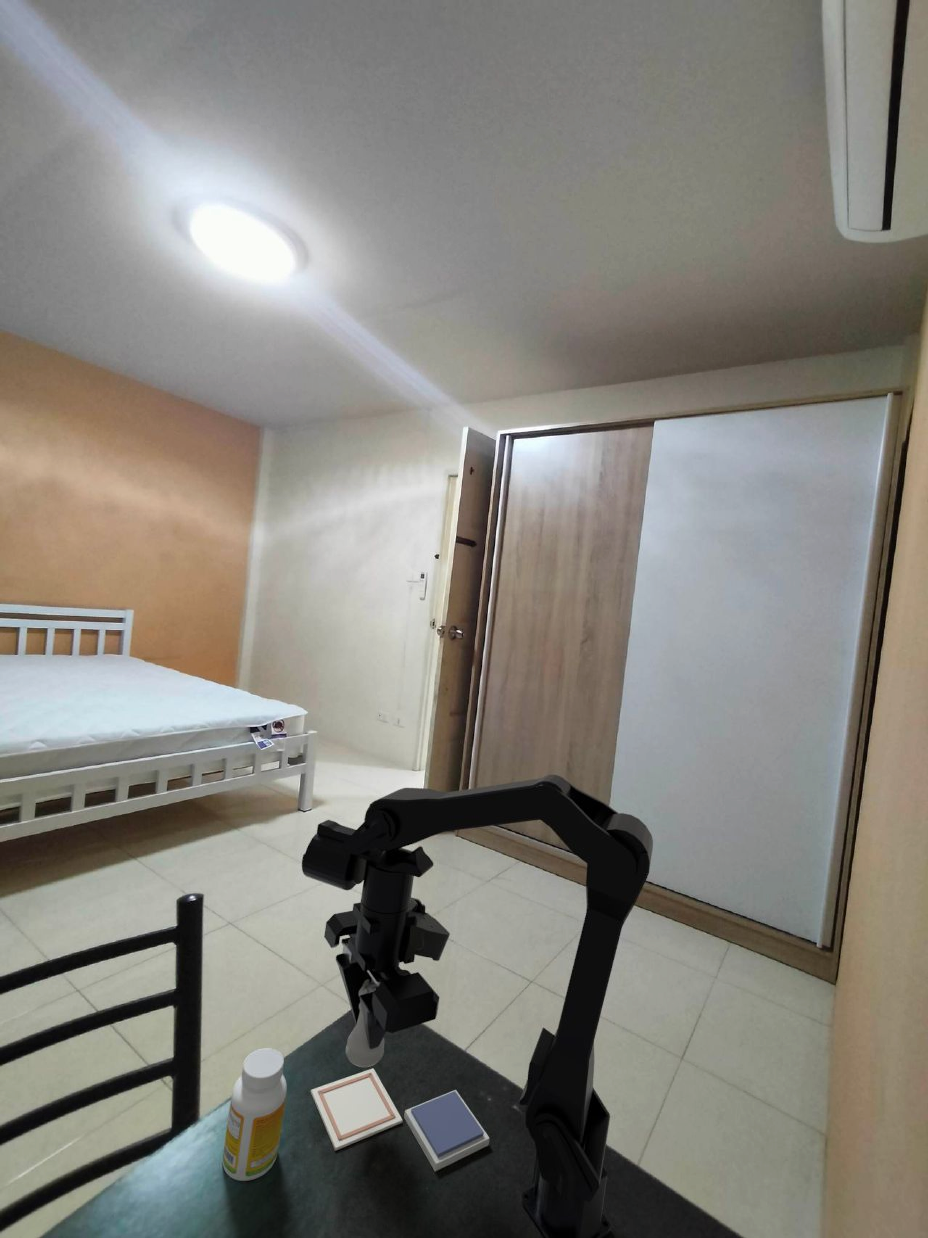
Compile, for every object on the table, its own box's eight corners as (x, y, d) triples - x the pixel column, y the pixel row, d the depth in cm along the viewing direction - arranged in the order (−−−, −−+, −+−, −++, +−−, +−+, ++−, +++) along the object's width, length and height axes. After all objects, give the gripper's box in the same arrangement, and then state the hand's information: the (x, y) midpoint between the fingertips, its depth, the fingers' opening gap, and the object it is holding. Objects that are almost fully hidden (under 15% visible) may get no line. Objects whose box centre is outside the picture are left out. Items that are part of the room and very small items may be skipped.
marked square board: (402, 1122, 64) (402, 1119, 64) (335, 1151, 59) (335, 1147, 59) (372, 1070, 70) (373, 1067, 70) (310, 1092, 66) (311, 1089, 66)
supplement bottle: (285, 1137, 60) (298, 1046, 60) (266, 1188, 55) (280, 1088, 55) (235, 1129, 60) (249, 1038, 60) (211, 1178, 55) (226, 1078, 55)
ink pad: (488, 1145, 62) (490, 1134, 62) (434, 1171, 59) (436, 1160, 59) (454, 1096, 68) (456, 1086, 68) (404, 1117, 64) (405, 1107, 64)
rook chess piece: (379, 1073, 63) (389, 1001, 63) (340, 1066, 63) (350, 994, 63) (386, 1043, 67) (396, 976, 67) (350, 1037, 67) (359, 970, 67)
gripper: (488, 930, 62) (469, 1072, 62) (408, 859, 77) (393, 972, 77) (398, 951, 56) (376, 1109, 55) (331, 869, 71) (314, 992, 71)
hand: (367, 1035), depth 65 cm, fingers closed on rook chess piece, 3 cm apart
